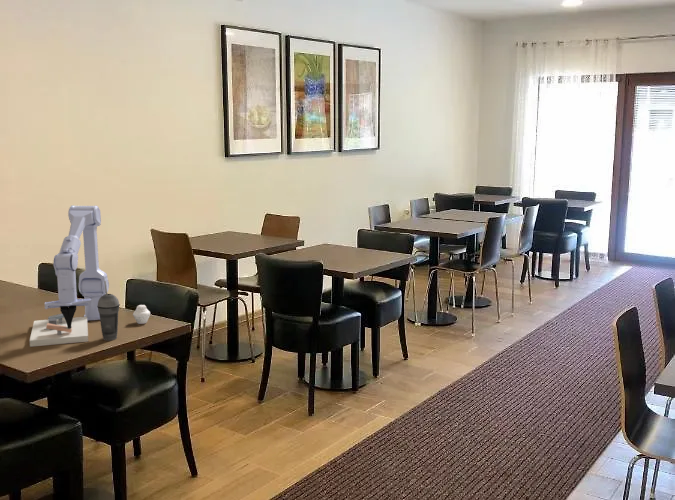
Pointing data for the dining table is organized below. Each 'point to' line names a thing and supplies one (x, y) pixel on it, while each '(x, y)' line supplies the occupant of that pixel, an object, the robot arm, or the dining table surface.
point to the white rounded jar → (141, 314)
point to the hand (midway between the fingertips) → (69, 327)
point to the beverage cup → (108, 315)
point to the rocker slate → (56, 316)
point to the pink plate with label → (58, 327)
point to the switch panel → (59, 332)
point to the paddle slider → (53, 321)
